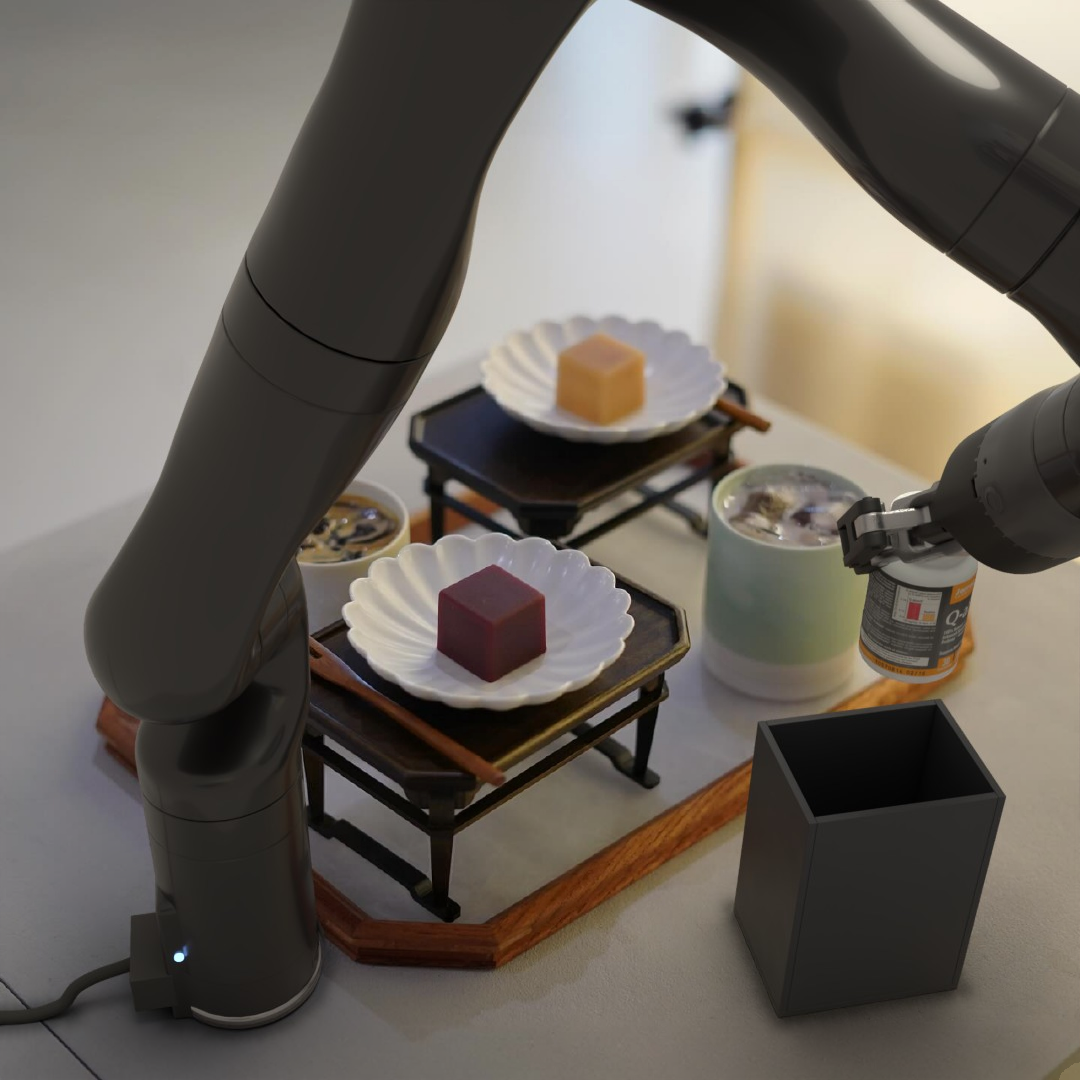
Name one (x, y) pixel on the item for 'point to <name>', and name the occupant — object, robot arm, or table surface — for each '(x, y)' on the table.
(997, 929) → the table surface
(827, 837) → the waste bin
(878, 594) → the pill bottle
